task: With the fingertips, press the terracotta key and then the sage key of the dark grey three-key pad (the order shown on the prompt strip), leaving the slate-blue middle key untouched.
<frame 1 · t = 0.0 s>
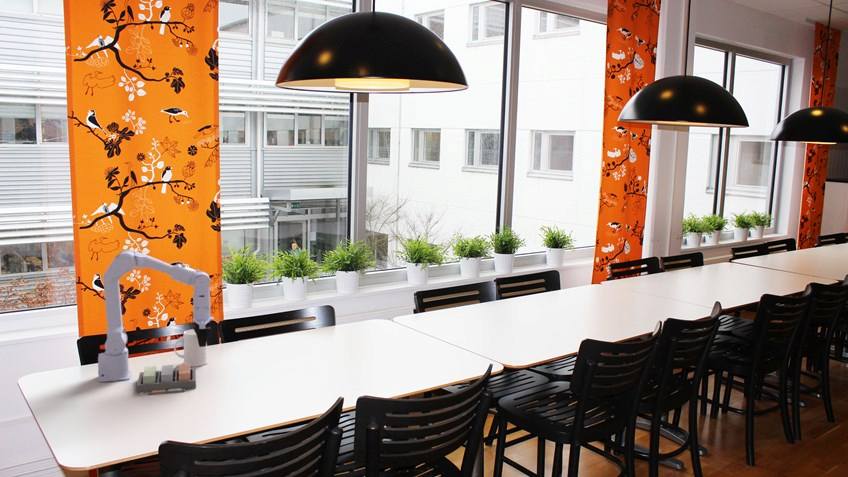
hand: (202, 343, 237), 10 cm above the table, fingers open, 7 cm apart
key slate: (167, 374, 224), point 3 cm above the table, slide at 0.0 cm
key terracotta: (184, 373, 225), point 3 cm above the table, slide at 0.0 cm
key sage: (149, 376, 222), point 3 cm above the table, slide at 0.0 cm
prompt strip: (166, 392, 217), on the table
keypad frame: (167, 383, 224), on the table
mug: (191, 364, 245), on the table
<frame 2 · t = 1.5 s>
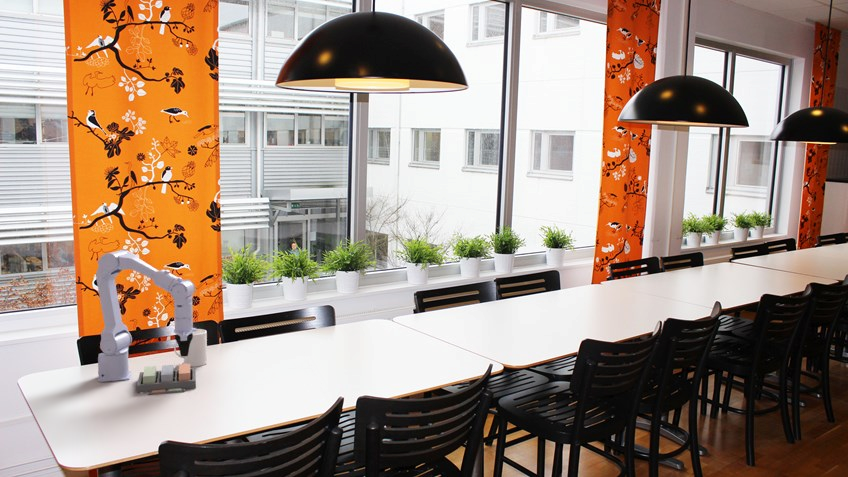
hand: (184, 355, 225), 9 cm above the table, fingers closed
nothing on the table moved.
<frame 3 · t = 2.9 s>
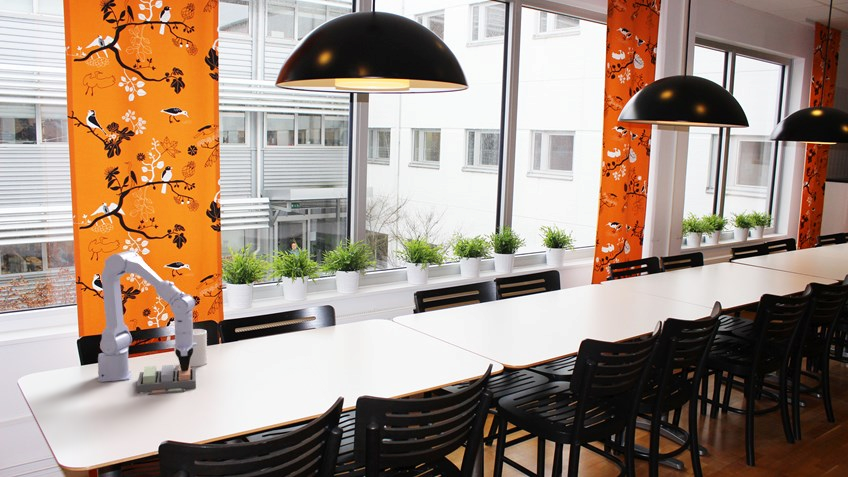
hand: (184, 370, 225), 4 cm above the table, fingers closed, pressing on key terracotta
key terracotta: (184, 375, 226), point 3 cm above the table, slide at 0.6 cm, touching gripper
everything else where it was.
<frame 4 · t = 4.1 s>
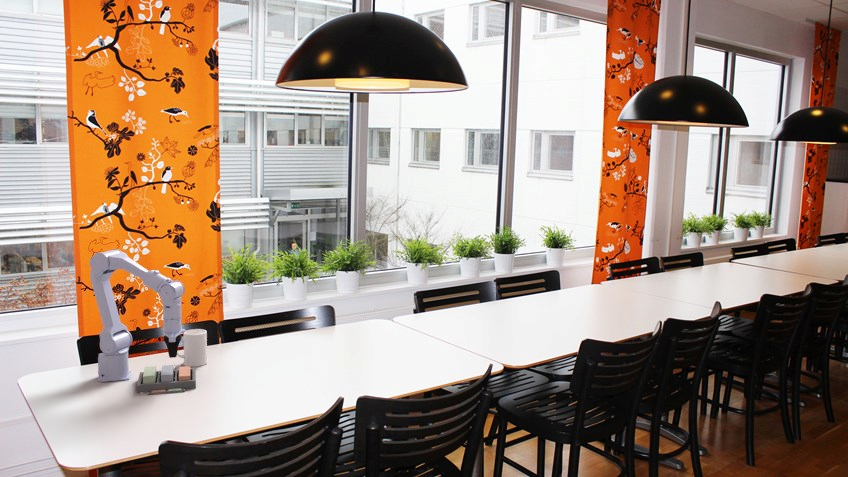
hand: (172, 356, 224), 9 cm above the table, fingers closed
key terracotta: (184, 376, 226), point 2 cm above the table, slide at 0.9 cm
everything else where it was.
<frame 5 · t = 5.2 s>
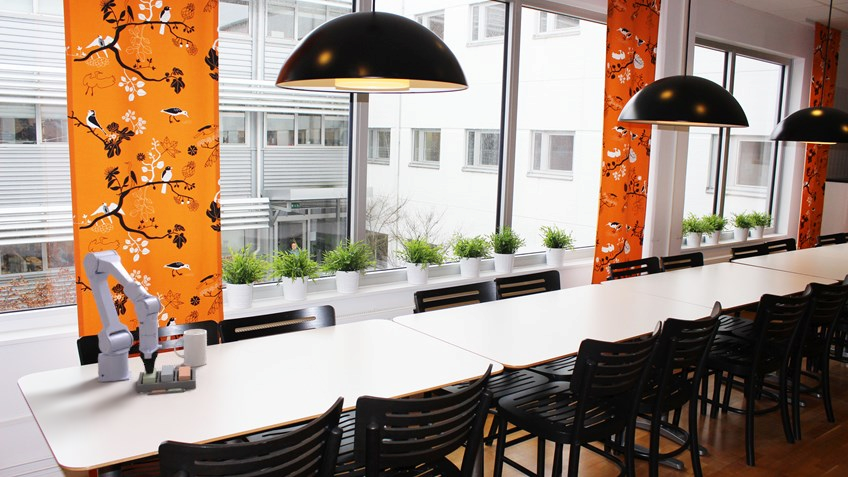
hand: (149, 373, 222), 4 cm above the table, fingers closed, pressing on key sage
key sage: (149, 377, 222), point 3 cm above the table, slide at 0.6 cm, touching gripper
everything else where it was.
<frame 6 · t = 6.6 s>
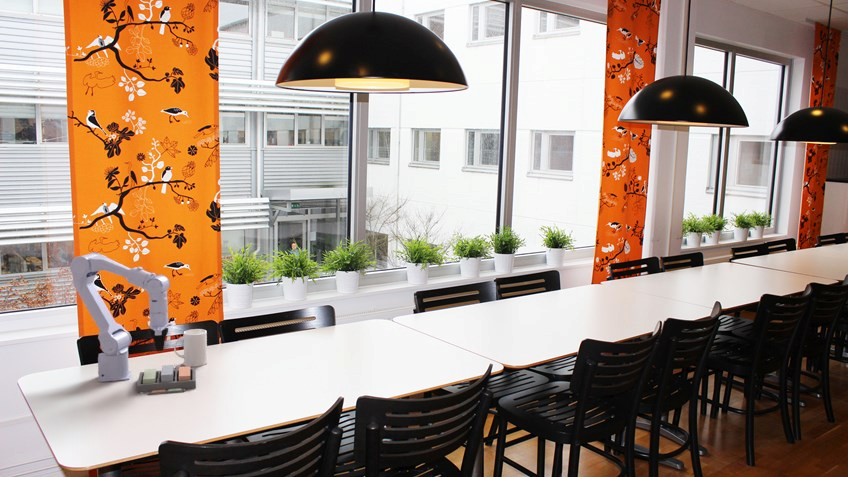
hand: (159, 350, 226), 10 cm above the table, fingers closed
key sage: (149, 378, 222), point 2 cm above the table, slide at 0.9 cm
everything else where it was.
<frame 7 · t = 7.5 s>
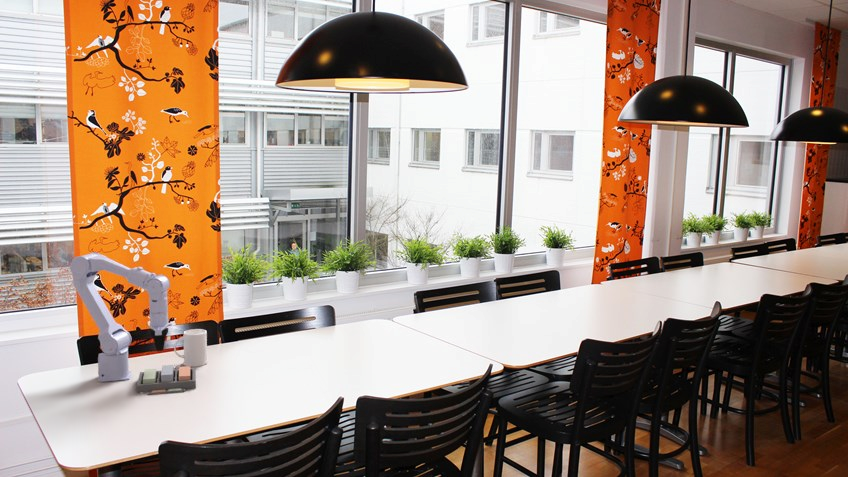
hand: (159, 350, 227), 10 cm above the table, fingers closed
nothing on the table moved.
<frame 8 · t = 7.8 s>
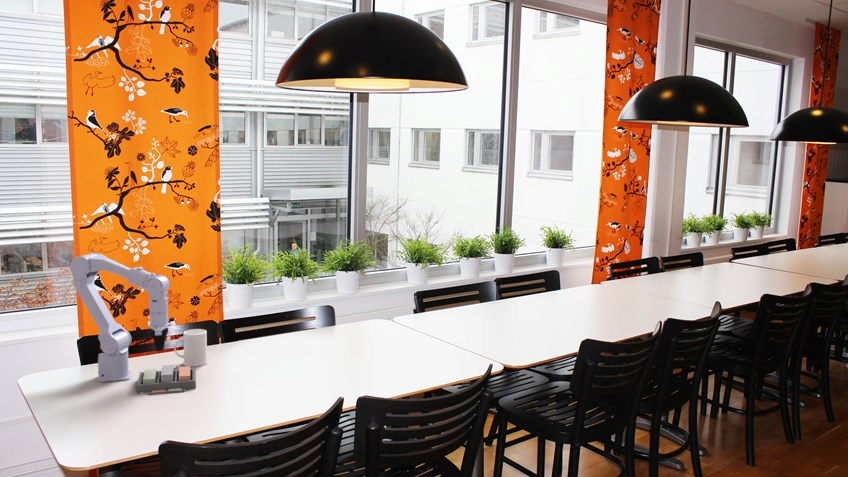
hand: (159, 350, 227), 10 cm above the table, fingers closed
nothing on the table moved.
at the end: key terracotta slide at 0.9 cm; key sage slide at 0.9 cm; key slate slide at 0.0 cm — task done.
